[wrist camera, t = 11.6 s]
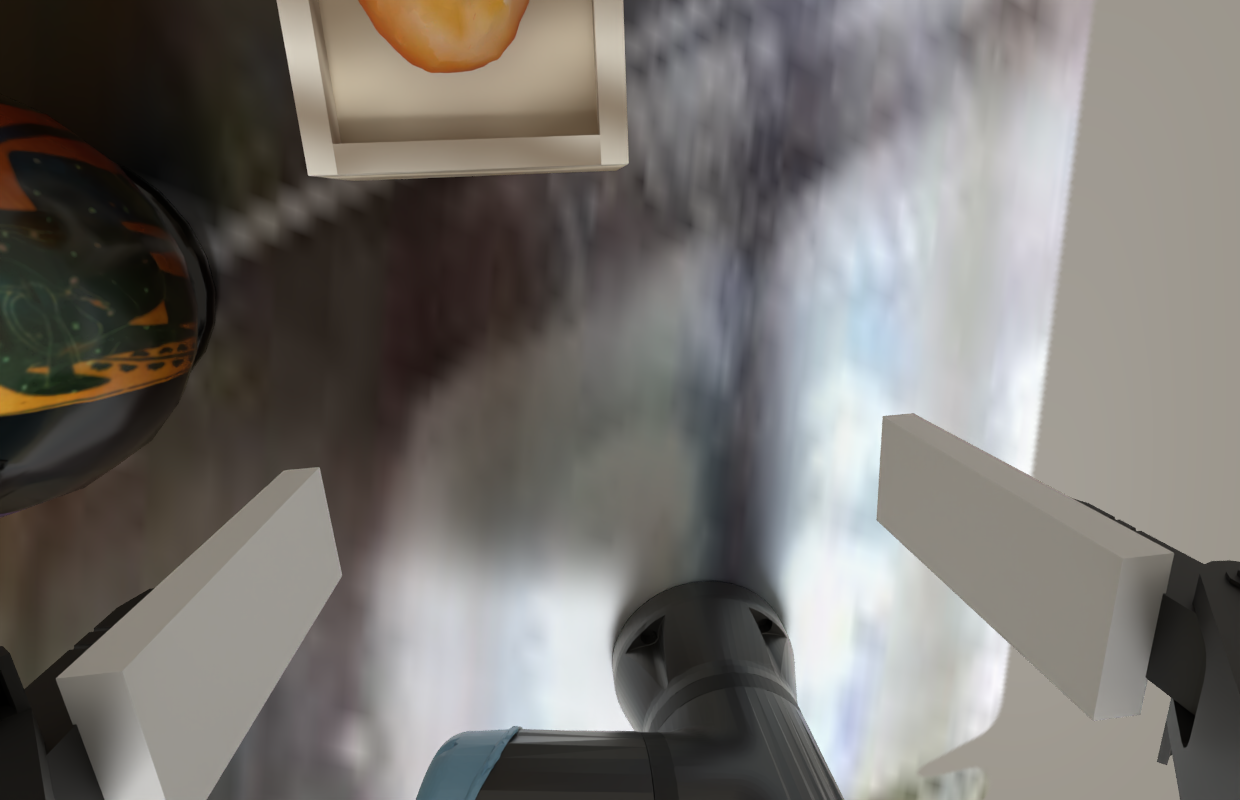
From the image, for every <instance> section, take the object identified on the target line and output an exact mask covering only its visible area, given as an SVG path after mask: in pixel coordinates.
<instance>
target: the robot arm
mask: <svg viewBox="0 0 1240 800" xmlns="http://www.w3.org/2000/svg"><path fill="white" fill-rule="evenodd" d="M877 521H878V522H879V523H880V524H881V525H882V526H884V527H885V528H886V529H887V530H888V531H889V532H890V533H891V534H892V535H893V536H894V537H895V538H896V539H898V540H899V541H900V542H901V543H902V544H903V545H904V546H905V547H906V548H907V549H908V550H909V551H910V552H912V553H913V554H914V555H915V556H916V557H917V558H918V559H919V560H920V561H921V562H922V563H923V564H924V565H926V566H927V567H928V568H929V569H930V570H931V571H932V572H933V573H934V574H935V575H936V576H937V577H938V578H940V579H941V580H942V581H943V582H944V583H945V584H946V585H947V586H948V587H949V588H950V589H951V590H952V591H953V592H955V593H956V594H957V595H958V596H959V597H960V598H961V599H962V600H963V601H964V602H965V603H966V604H967V605H969V606H970V607H971V608H972V609H973V610H974V611H975V612H976V613H977V614H978V615H979V616H980V617H981V618H983V619H984V620H985V621H986V622H987V623H988V624H989V625H990V626H991V627H992V628H993V629H994V630H995V631H997V632H998V633H999V634H1000V635H1001V636H1002V637H1003V638H1004V639H1005V640H1006V641H1007V642H1008V643H1009V644H1011V645H1012V646H1013V647H1014V648H1015V649H1016V650H1017V651H1018V652H1019V653H1020V654H1021V655H1022V656H1023V657H1025V658H1026V659H1027V660H1028V661H1029V662H1030V663H1031V664H1032V665H1033V666H1034V667H1035V668H1036V669H1037V670H1039V671H1040V672H1041V673H1042V674H1043V675H1044V676H1045V677H1046V678H1047V679H1048V680H1049V681H1050V682H1051V683H1053V684H1054V685H1055V686H1056V687H1057V688H1058V689H1059V690H1060V691H1061V692H1062V693H1063V694H1064V695H1066V696H1067V697H1068V698H1069V699H1070V700H1071V701H1072V702H1073V703H1074V704H1075V705H1076V706H1077V707H1078V708H1079V709H1081V710H1082V711H1083V712H1084V713H1085V714H1086V715H1087V716H1088V717H1089V718H1090V719H1091V720H1093V721H1097V720H1105V719H1112V718H1120V717H1127V716H1134V715H1140V714H1141V709H1142V704H1143V699H1144V694H1145V690H1146V685H1147V680H1149V681H1151V682H1152V683H1153V684H1155V685H1156V686H1157V687H1158V688H1160V689H1161V690H1162V691H1164V692H1165V693H1166V694H1167V695H1169V696H1170V697H1171V702H1170V707H1169V711H1168V715H1167V720H1166V724H1165V728H1164V733H1163V737H1162V742H1161V746H1160V751H1159V755H1158V760H1157V762H1159V763H1162V764H1166V765H1167V763H1168V760H1169V757H1170V756H1171V755H1173V761H1174V767H1175V772H1176V778H1177V784H1178V789H1179V795H1180V800H1240V562H1237V561H1212V562H1209V563H1207V564H1203V563H1201V562H1199V561H1197V560H1195V559H1193V558H1191V557H1189V556H1187V555H1186V554H1184V553H1182V552H1180V551H1178V550H1176V549H1174V548H1172V547H1170V546H1168V545H1167V544H1165V543H1163V542H1161V541H1159V540H1157V539H1155V538H1153V537H1151V536H1150V535H1147V534H1146V533H1144V532H1142V531H1136V529H1135V528H1134V527H1132V526H1130V525H1129V524H1127V523H1125V522H1123V521H1121V520H1115V517H1113V516H1112V515H1110V514H1108V513H1106V512H1104V511H1102V510H1100V509H1098V508H1096V507H1095V506H1093V505H1091V504H1089V503H1086V502H1083V501H1079V500H1076V499H1073V498H1071V497H1069V496H1067V495H1065V494H1063V493H1061V492H1059V491H1057V490H1056V489H1054V488H1052V487H1050V486H1048V485H1046V484H1044V483H1042V482H1041V481H1039V480H1037V479H1035V478H1033V477H1031V476H1029V475H1028V474H1026V473H1024V472H1022V471H1020V470H1018V469H1016V468H1015V467H1013V466H1011V465H1009V464H1007V463H1005V462H1003V461H1001V460H1000V459H998V458H996V457H994V456H992V455H990V454H988V453H986V452H985V451H983V450H981V449H979V448H977V447H975V446H973V445H971V444H970V443H968V442H966V441H964V440H962V439H960V438H958V437H957V436H955V435H953V434H951V433H949V432H947V431H945V430H943V429H942V428H940V427H938V426H936V425H934V424H932V423H930V422H928V421H927V420H925V419H923V418H921V417H919V416H917V415H915V414H914V413H913V414H901V415H890V416H883V422H882V439H881V455H880V472H879V488H878V505H877ZM341 577H342V573H341V568H340V563H339V558H338V553H337V549H336V544H335V539H334V534H333V530H332V525H331V520H330V515H329V510H328V506H327V501H326V496H325V491H324V487H323V482H322V477H321V472H320V467H316V468H305V469H293V470H284V471H283V472H282V473H281V474H279V475H278V476H277V477H276V478H275V479H274V480H273V481H272V482H271V483H270V484H269V485H267V486H266V487H265V488H264V489H263V490H262V491H261V492H260V493H259V494H258V495H256V496H255V497H254V498H253V499H252V500H251V501H250V502H249V503H248V504H247V505H245V506H244V507H243V508H242V509H241V510H240V511H239V512H238V513H237V514H236V515H234V516H233V517H232V518H231V519H230V520H229V521H228V522H227V523H226V524H225V525H224V526H222V527H221V528H220V529H219V530H218V531H217V532H216V533H215V534H214V535H213V536H211V537H210V538H209V539H208V540H207V541H206V542H205V543H204V544H203V545H202V546H200V547H199V548H198V549H197V550H196V551H195V552H194V553H193V554H192V555H191V556H190V557H188V558H187V559H186V560H185V561H184V562H183V563H182V564H181V565H180V566H179V567H177V568H176V569H175V570H174V571H173V572H172V573H171V574H170V575H169V576H168V577H166V578H165V579H164V580H163V581H162V582H161V583H160V584H159V585H158V586H157V587H156V588H153V589H149V590H147V591H145V592H144V593H142V594H140V595H138V596H137V597H135V598H133V599H131V600H130V601H128V602H126V603H125V604H123V605H121V606H119V607H118V608H116V609H115V610H114V611H113V612H112V613H111V614H110V615H108V616H107V617H106V618H105V619H104V620H103V621H102V622H101V623H99V624H98V625H97V626H96V627H95V628H94V632H89V633H88V634H87V635H86V636H85V637H83V638H82V639H81V640H80V641H79V642H78V643H77V644H75V645H74V650H69V651H67V652H66V653H65V654H64V655H63V656H62V657H61V658H60V659H58V660H57V661H56V662H55V663H54V664H53V665H52V666H50V667H49V668H48V669H47V670H46V671H45V672H44V673H42V674H41V675H40V676H39V677H38V678H37V679H36V680H34V681H33V682H32V683H31V684H30V685H29V686H28V687H27V688H25V689H24V688H23V686H22V683H21V681H20V678H19V676H18V673H17V670H16V668H15V665H14V663H13V660H12V658H11V655H10V653H9V652H8V651H7V650H6V649H5V648H4V647H3V646H0V800H206V799H207V798H208V796H209V795H210V793H211V791H212V790H213V788H214V786H215V785H216V783H217V781H218V780H219V778H220V776H221V775H222V773H223V771H224V770H225V768H226V766H227V765H228V763H229V762H230V760H231V758H232V757H233V755H234V753H235V752H236V750H237V748H238V747H239V745H240V743H241V742H242V740H243V738H244V737H245V735H246V733H247V732H248V730H249V729H250V727H251V725H252V724H253V722H254V720H255V719H256V717H257V715H258V714H259V712H260V710H261V709H262V707H263V705H264V704H265V702H266V700H267V699H268V697H269V695H270V694H271V692H272V691H273V689H274V687H275V686H276V684H277V682H278V681H279V679H280V677H281V676H282V674H283V672H284V671H285V669H286V667H287V666H288V664H289V662H290V661H291V659H292V658H293V656H294V654H295V653H296V651H297V649H298V648H299V646H300V644H301V643H302V641H303V639H304V638H305V636H306V634H307V633H308V631H309V629H310V628H311V626H312V624H313V623H314V621H315V620H316V618H317V616H318V615H319V613H320V611H321V610H322V608H323V606H324V605H325V603H326V601H327V600H328V598H329V596H330V595H331V593H332V591H333V590H334V588H335V587H336V585H337V583H338V582H339V580H340V578H341ZM612 668H613V677H614V685H615V691H616V695H617V699H618V702H619V704H620V707H621V709H622V711H623V713H624V714H625V716H626V718H627V719H628V721H629V723H630V724H631V726H632V728H633V729H634V731H560V730H530V729H522V727H518V726H514V727H512V728H510V729H508V730H490V731H467V732H463V733H459V734H457V735H455V736H453V737H452V738H450V739H449V740H447V741H446V742H445V743H444V744H443V745H442V746H441V748H440V749H439V750H438V752H437V753H436V755H435V757H434V758H433V760H432V762H431V764H430V766H429V768H428V770H427V772H426V775H425V777H424V779H423V782H422V784H421V787H420V790H419V792H418V795H417V798H416V800H844V798H843V796H842V794H841V792H840V790H839V788H838V786H837V784H836V782H835V780H834V778H833V776H832V774H831V772H830V770H829V768H828V766H827V764H826V762H825V760H824V758H823V756H822V754H821V752H820V749H819V747H818V745H817V743H816V741H815V739H814V737H813V735H812V733H811V731H810V729H809V727H808V725H807V723H806V721H805V719H804V717H803V715H802V713H801V711H800V709H799V707H798V705H797V693H796V679H795V665H794V654H793V649H792V646H791V642H790V639H789V637H788V635H787V633H786V631H785V629H784V627H783V625H782V623H781V621H780V619H779V618H778V616H777V614H776V613H775V611H774V610H773V609H772V608H771V606H770V605H769V604H768V603H767V602H766V601H765V600H763V599H762V598H761V597H759V596H758V595H757V594H755V593H753V592H751V591H750V590H747V589H745V588H743V587H740V586H737V585H734V584H729V583H724V582H714V581H705V582H694V583H689V584H684V585H680V586H677V587H674V588H671V589H669V590H666V591H664V592H662V593H660V594H658V595H657V596H655V597H653V598H652V599H650V600H649V601H647V602H646V603H645V604H643V605H642V606H641V607H640V608H639V609H638V610H637V611H636V612H635V613H634V614H633V615H632V616H631V617H630V618H629V620H628V621H627V622H626V624H625V625H624V627H623V628H622V630H621V632H620V634H619V636H618V638H617V641H616V644H615V647H614V652H613V659H612Z"/></svg>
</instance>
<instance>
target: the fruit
mask: <svg viewBox="0 0 1240 800" xmlns="http://www.w3.org/2000/svg"><path fill="white" fill-rule="evenodd" d="M358 1H359V3H360V4H361V6H362V7H363V9H364V10H365V12H366V14H367V15H368V17H369V19H370V20H371V22H372V24H373V25H374V27H375V29H376V30H377V31H378V33H379V34H380V35H381V36H382V37H383V38H385V39H386V41H387V42H388V43H389V44H390V45H391V46H392V47H393V48H394V49H395V50H396V51H397V52H398V53H399V54H400V55H401V56H402V57H403V58H405V59H406V60H407V61H408V62H409V63H411V64H412V65H414V66H416V67H419V68H421V69H423V70H425V71H427V72H430V73H457V72H466V71H472V70H475V69H478V68H481V67H484V66H485V65H487V64H488V63H490V62H492V61H495V60H498V59H499V58H500V57H501V55H502V54H503V52H504V51H505V50H506V49H507V47H508V46H509V45H510V44H511V43H512V41H513V40H514V39H515V37H516V34H517V30H518V27H519V24H520V21H521V19H522V17H523V15H524V13H525V11H526V8H527V6H528V3H529V0H358Z"/></svg>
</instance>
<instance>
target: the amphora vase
mask: <svg viewBox="0 0 1240 800" xmlns="http://www.w3.org/2000/svg"><path fill="white" fill-rule="evenodd" d="M215 297H216V290H215V286H214V282H213V278H212V275H211V271H210V267H209V263H208V260H207V256H206V254H205V252H204V251H203V249H202V247H201V245H200V243H199V242H198V240H197V238H196V236H195V234H194V232H193V231H192V229H191V227H190V225H189V223H188V222H187V221H186V220H185V219H184V218H183V216H182V215H181V214H180V213H179V212H178V211H177V210H176V209H175V207H174V206H173V205H172V204H171V203H170V202H169V201H168V199H167V198H166V197H165V196H164V195H163V194H162V193H161V192H160V191H158V190H157V189H156V188H154V187H153V186H151V185H150V184H149V183H147V182H146V181H145V180H143V179H142V178H140V177H139V176H138V175H136V174H135V173H134V172H132V171H131V170H129V169H128V168H125V167H123V166H121V165H119V164H116V163H114V162H113V161H111V160H110V159H109V158H107V157H106V156H104V155H103V154H102V153H100V152H99V151H98V150H96V149H95V148H93V147H92V146H91V145H89V144H88V143H87V142H85V141H84V140H82V139H81V138H80V137H78V136H77V135H76V134H74V133H73V132H71V131H70V130H69V129H67V128H66V127H64V126H63V125H61V124H60V123H58V122H57V121H56V120H54V119H53V118H51V117H50V116H48V115H46V114H44V113H42V112H40V111H37V110H35V109H33V108H31V107H29V106H26V105H24V104H22V103H20V102H17V101H15V100H13V99H11V98H9V97H6V96H4V95H2V94H0V518H1V517H4V516H7V515H10V514H12V513H15V512H18V511H21V510H24V509H26V508H29V507H32V506H35V505H38V504H41V503H43V502H46V501H49V500H52V499H54V498H57V497H60V496H63V495H65V494H68V493H71V492H74V491H77V490H79V489H82V488H85V487H86V486H88V485H89V484H91V483H92V482H94V481H95V480H97V479H98V478H100V477H101V476H103V475H104V474H105V473H107V472H108V471H110V470H111V469H113V468H114V467H116V466H117V465H119V464H120V463H121V462H123V461H124V460H125V459H127V458H128V457H130V456H131V455H132V454H134V453H135V452H137V451H138V450H139V449H141V448H142V447H143V446H145V445H146V444H148V443H149V442H150V441H152V439H153V438H154V437H155V435H156V434H157V432H158V431H159V430H160V428H161V427H162V425H163V424H164V423H165V421H166V420H167V419H168V417H169V416H170V414H171V413H172V412H173V410H174V409H175V407H176V406H177V405H178V403H179V401H180V399H181V397H182V395H183V393H184V391H185V388H186V384H187V381H188V378H189V375H190V373H191V371H192V370H193V368H194V367H195V366H196V364H197V363H198V361H199V360H200V359H201V357H202V356H203V354H204V353H205V352H206V349H207V346H208V343H209V340H210V337H211V333H212V330H213V327H214V324H215Z"/></svg>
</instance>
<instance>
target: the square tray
mask: <svg viewBox="0 0 1240 800" xmlns="http://www.w3.org/2000/svg"><path fill="white" fill-rule="evenodd" d="M277 5H278V11H279V16H280V22H281V27H282V33H283V38H284V44H285V50H286V55H287V61H288V66H289V72H290V77H291V83H292V88H293V94H294V99H295V105H296V111H297V116H298V122H299V127H300V133H301V138H302V144H303V149H304V155H305V160H306V166H307V171H308V176H316V177H325V178H333V179H341V180H350V181H361V180H386V179H412V178H438V177H464V176H489V175H515V174H541V173H567V172H592V171H617V170H618V169H620V168H622V167H623V166H625V165H627V164H629V158H628V129H627V100H626V70H625V41H624V12H623V0H529V3H528V6H527V8H526V11H525V13H524V15H523V17H522V19H521V21H520V24H519V27H518V30H517V34H516V37H515V39H514V40H513V41H512V43H511V44H510V45H509V46H508V47H507V49H506V50H505V51H504V52H503V54H502V55H501V57H500V58H499V59H498V60H495V61H492V62H490V63H488V64H487V65H485V66H484V67H481V68H478V69H475V70H472V71H466V72H457V73H430V72H427V71H425V70H423V69H421V68H419V67H416V66H414V65H412V64H411V63H409V62H408V61H407V60H406V59H405V58H403V57H402V56H401V55H400V54H399V53H398V52H397V51H396V50H395V49H394V48H393V47H392V46H391V45H390V44H389V43H388V42H387V41H386V39H385V38H383V37H382V36H381V35H380V34H379V33H378V31H377V30H376V29H375V27H374V25H373V24H372V22H371V20H370V19H369V17H368V15H367V14H366V12H365V10H364V9H363V7H362V6H361V4H360V3H359V1H358V0H277Z"/></svg>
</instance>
